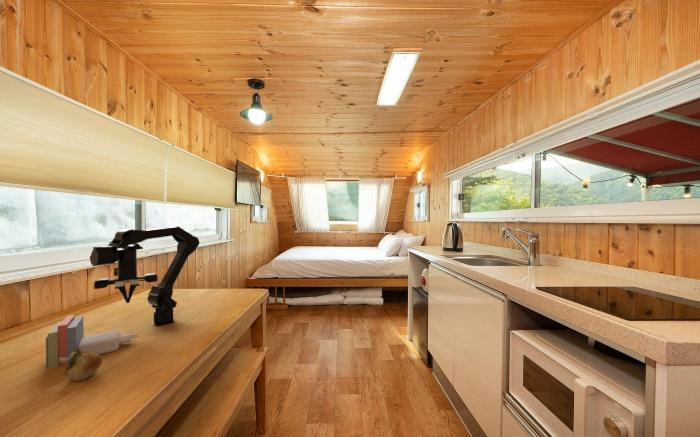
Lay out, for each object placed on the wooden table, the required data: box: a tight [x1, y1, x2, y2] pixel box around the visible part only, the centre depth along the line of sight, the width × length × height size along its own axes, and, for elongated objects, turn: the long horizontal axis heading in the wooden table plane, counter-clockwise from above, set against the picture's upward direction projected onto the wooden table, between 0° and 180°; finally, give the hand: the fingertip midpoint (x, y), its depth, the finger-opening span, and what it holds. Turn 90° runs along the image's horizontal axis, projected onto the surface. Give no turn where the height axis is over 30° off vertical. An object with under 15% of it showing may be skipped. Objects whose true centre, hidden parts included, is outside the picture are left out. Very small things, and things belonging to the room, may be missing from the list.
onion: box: [59, 349, 104, 382], centre depth 77 cm, size 8×8×8 cm
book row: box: [45, 314, 85, 369], centre depth 89 cm, size 7×12×12 cm, turn 36°
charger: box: [78, 330, 139, 355], centre depth 96 cm, size 5×9×15 cm
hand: (127, 302), depth 107 cm, fingers closed
